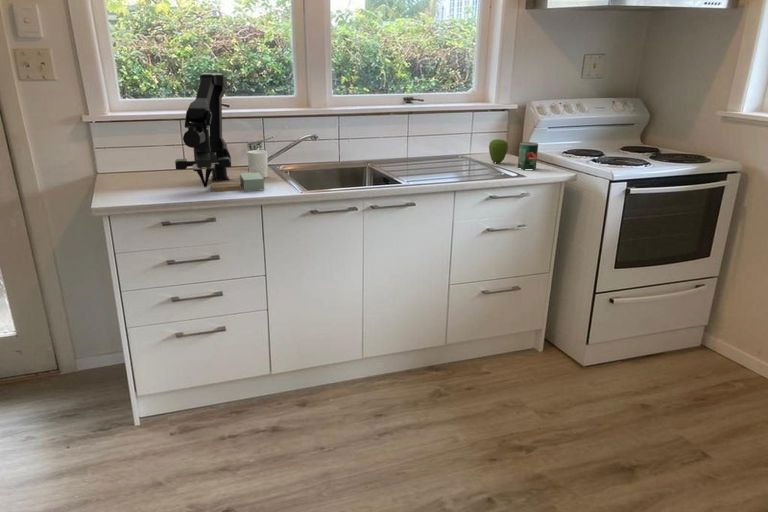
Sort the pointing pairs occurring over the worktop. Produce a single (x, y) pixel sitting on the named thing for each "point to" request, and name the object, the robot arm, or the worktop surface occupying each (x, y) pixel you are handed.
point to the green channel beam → (252, 181)
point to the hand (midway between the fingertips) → (205, 187)
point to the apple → (498, 150)
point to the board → (225, 186)
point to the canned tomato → (527, 155)
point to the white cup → (258, 162)
